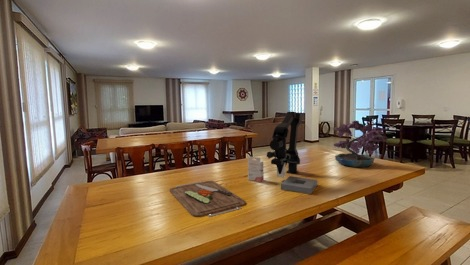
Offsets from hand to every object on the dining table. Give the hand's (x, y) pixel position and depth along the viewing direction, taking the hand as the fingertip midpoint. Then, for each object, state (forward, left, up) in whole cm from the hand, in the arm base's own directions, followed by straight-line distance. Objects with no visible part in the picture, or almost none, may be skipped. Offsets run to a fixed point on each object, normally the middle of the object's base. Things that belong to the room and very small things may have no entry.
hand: (281, 172), depth 152 cm
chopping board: (+42, -26, -5) cm, 50 cm away
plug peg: (0, 0, -2) cm, 2 cm away
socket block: (+7, +13, -5) cm, 15 cm away
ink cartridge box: (+6, -14, -5) cm, 16 cm away
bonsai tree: (-59, +38, -5) cm, 70 cm away
